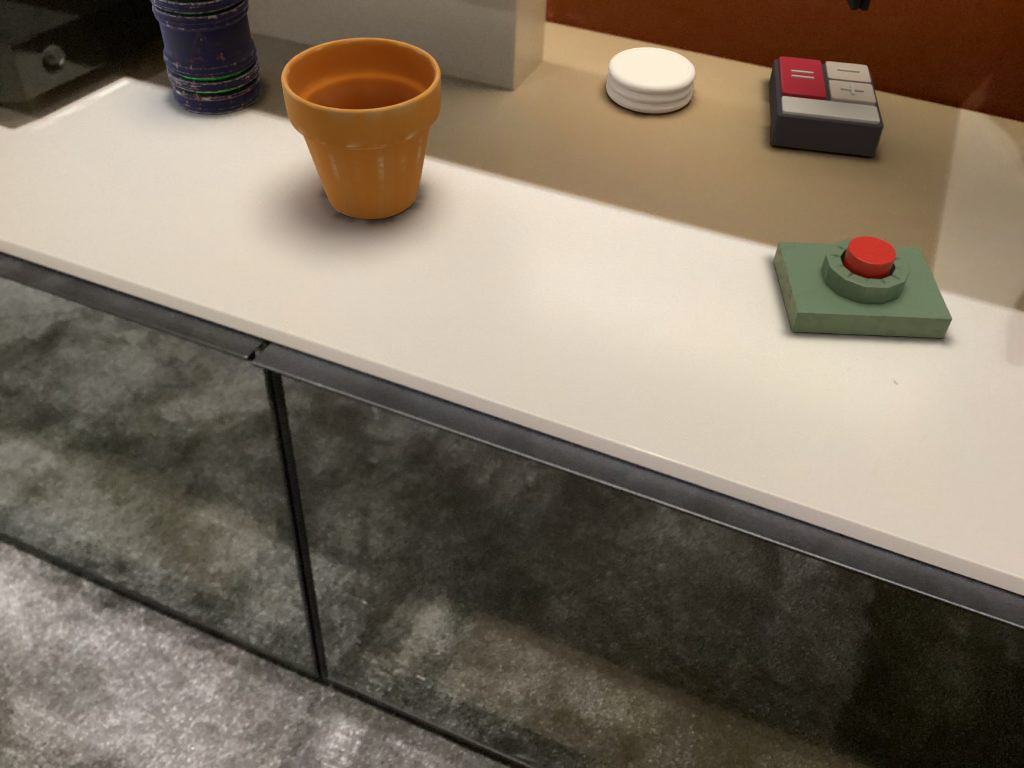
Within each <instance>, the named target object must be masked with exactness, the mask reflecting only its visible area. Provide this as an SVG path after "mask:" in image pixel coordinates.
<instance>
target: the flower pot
mask: <svg viewBox="0 0 1024 768" xmlns="http://www.w3.org/2000/svg"><path fill="white" fill-rule="evenodd" d="M441 78H442V73H441V68H440V66H439V64H438V62H437V60H436V59H435V58H434V57H433V56H432V55H431V54H430V53H428V52H427V51H425V50H423V49H422V48H420V47H418V46H416V45H414V44H411V43H407V42H404V41H400V40H395V39H389V38H382V37H352V38H344V39H337V40H332V41H328V42H324V43H321V44H318V45H314V46H311V47H309V48H307V49H305V50H303V51H301V52H299V53H298V54H296V55H295V56H293V57H292V58H291V59H290V60H289V61H288V62H287V63H286V64H285V66H284V68H283V70H282V72H281V76H280V81H281V82H280V83H281V88H282V93H283V99H284V104H285V109H286V114H287V117H288V120H289V122H290V124H291V125H292V127H293V128H294V129H295V130H296V131H297V133H299V134H300V135H301V136H303V138H304V141H305V143H306V147H307V149H308V151H309V154H310V157H311V159H312V163H313V164H314V167H315V170H316V173H317V176H318V178H319V180H320V183H321V185H322V187H323V189H324V190H323V191H324V193H325V195H326V197H327V199H328V202H329V203H330V205H331V206H332V208H334V209H335V210H336V211H337V212H338V213H340V214H343V215H345V216H348V217H351V218H353V219H354V218H355V219H361V220H379V219H385V218H386V219H387V218H389V217H393V216H396V215H398V214H401V213H402V212H403V211H405V210H406V209H409V208H411V206H412V205H413V204H414V203H415V202H416V199H417V197H418V195H419V190H420V189H419V188H420V184H421V179H422V173H423V168H424V164H425V157H426V152H427V146H428V140H429V134H430V128H431V127H432V126H433V125H434V124H435V123H436V122H437V120H438V118H439V115H440V112H441V104H442V79H441Z"/></svg>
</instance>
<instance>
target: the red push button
mask: <svg viewBox="0 0 1024 768" xmlns="http://www.w3.org/2000/svg"><path fill="white" fill-rule="evenodd" d="M851 239H852V240H851V241H850V242H849V244H848V247H847V250H846V253H845V256H844V259H843V264H844V267H845V268H847V269H848V270H849V271H850V272H851V273H853V274H855V275H858V276H861V277H864V278H867V279H883V278H885V277H887V276H888V275H889V273H890V271H891V268H892V266H893V263H894V261H895V258H896V251H895V249H894V248H893V247H894V246H892V244H890V243H889V242H887V241H886V240H884V239H881V238H878V237H875V236H869V235H862V236H857V237H855V238H851Z"/></svg>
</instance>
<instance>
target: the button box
mask: <svg viewBox="0 0 1024 768" xmlns="http://www.w3.org/2000/svg"><path fill="white" fill-rule="evenodd" d="M852 239H853V238H845V239H843V240H840V241H838V242H834V243H819V242H818V243H816V242H798V241H797V242H795V241H794V242H793V241H778V242H777V246H776V249H775V254H774V257H773V264H774V268H775V271H776V275H777V279H778V283H779V286H780V291H781V294H782V299H783V302H784V305H785V309H786V313H787V317H788V321H789V326H790V329H791V332H793V333H815V334H835V335H836V334H838V335H857V336H858V335H860V336H861V335H863V336H884V337H885V336H886V337H907V338H909V337H910V338H930V339H931V338H933V339H945V336H946V334H947V333H948V330H949V327H950V325H951V323H952V321H953V317H952V315H951V312H950V311H949V308H948V306H947V304H946V301H945V299H944V297H943V295H942V293H941V291H940V288H939V286H938V284H937V281H936V279H935V277H934V275H933V272H932V271H931V268H930V266H929V263H928V262H927V259H926V257H925V255H924V253H923V250H922V248H921V247H915V246H914V247H912V246H892V247H893V248H894V249H895V251H896V258H895V261H894V263H893V266H892V268H891V271H890V273H889V275H888V276H887V277H885V278H883V279H867V278H864V277H861V276H858V275H855V274H853V273H851V272H850V271H849V270H848V269H847V268H845V267H844V264H843V259H844V256H845V253H846V250H847V247H848V244H849V242H850V241H851V240H852Z"/></svg>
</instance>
